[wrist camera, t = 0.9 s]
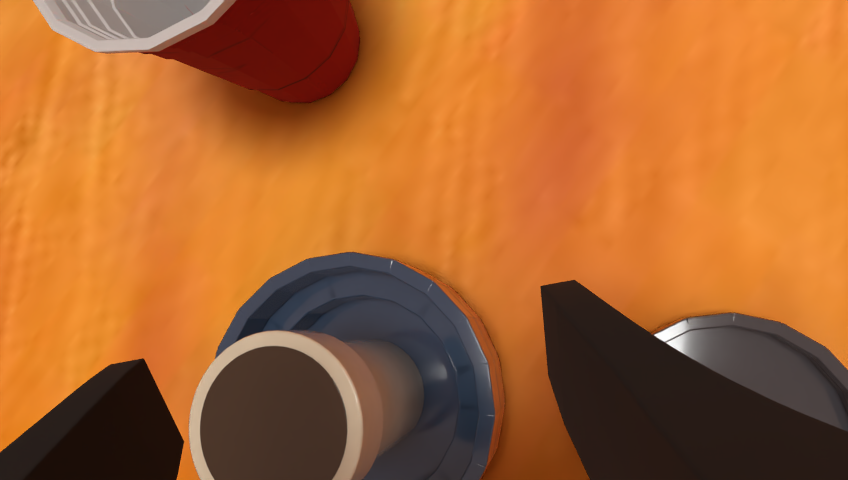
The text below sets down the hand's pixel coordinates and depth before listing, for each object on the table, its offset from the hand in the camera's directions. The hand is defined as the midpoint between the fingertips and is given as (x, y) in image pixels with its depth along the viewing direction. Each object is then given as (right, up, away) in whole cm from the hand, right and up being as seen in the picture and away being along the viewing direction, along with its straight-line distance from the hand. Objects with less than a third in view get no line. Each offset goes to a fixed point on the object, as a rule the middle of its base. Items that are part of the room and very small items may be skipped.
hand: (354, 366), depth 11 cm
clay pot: (-1, -5, +15) cm, 16 cm away
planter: (-1, -5, +16) cm, 16 cm away
